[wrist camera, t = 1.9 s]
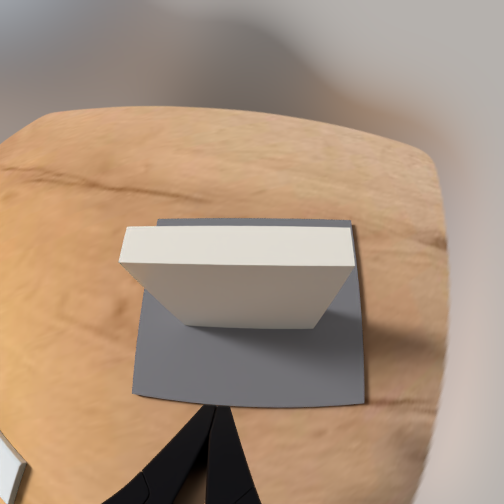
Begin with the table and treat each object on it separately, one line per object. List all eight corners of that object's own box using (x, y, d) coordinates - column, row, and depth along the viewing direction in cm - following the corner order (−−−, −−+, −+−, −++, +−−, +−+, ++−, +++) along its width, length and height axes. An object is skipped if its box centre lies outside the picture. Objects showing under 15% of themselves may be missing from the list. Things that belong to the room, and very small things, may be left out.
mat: (361, 402, 20) (364, 403, 20) (135, 393, 21) (132, 393, 21) (349, 223, 27) (350, 220, 27) (159, 222, 28) (157, 219, 28)
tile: (313, 328, 22) (355, 265, 12) (185, 325, 23) (118, 262, 12) (312, 304, 23) (349, 224, 13) (187, 302, 24) (128, 223, 13)
